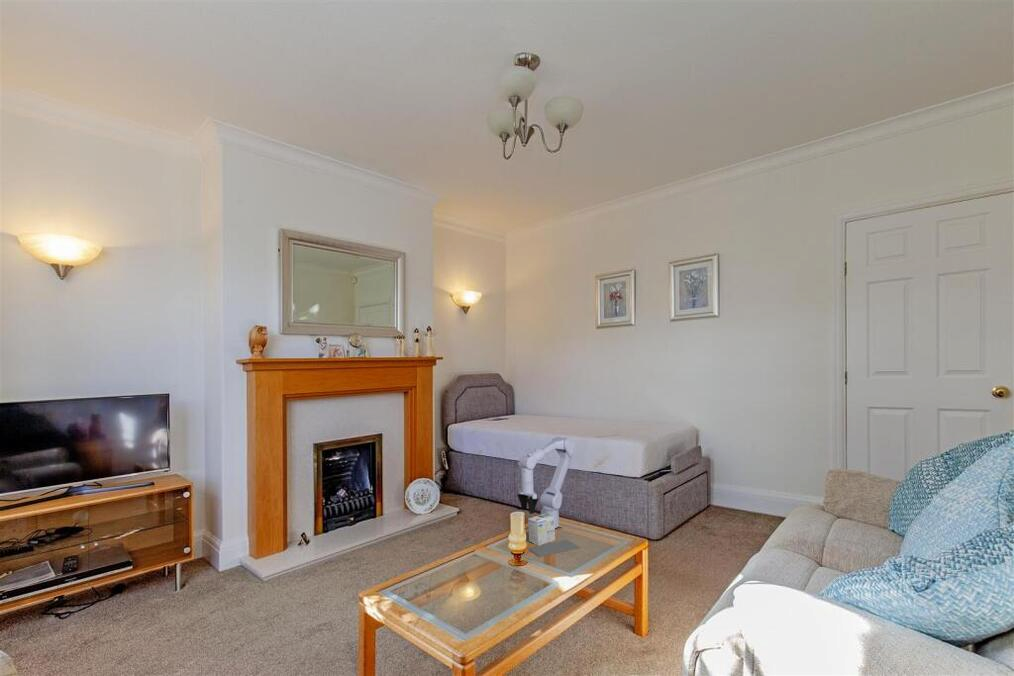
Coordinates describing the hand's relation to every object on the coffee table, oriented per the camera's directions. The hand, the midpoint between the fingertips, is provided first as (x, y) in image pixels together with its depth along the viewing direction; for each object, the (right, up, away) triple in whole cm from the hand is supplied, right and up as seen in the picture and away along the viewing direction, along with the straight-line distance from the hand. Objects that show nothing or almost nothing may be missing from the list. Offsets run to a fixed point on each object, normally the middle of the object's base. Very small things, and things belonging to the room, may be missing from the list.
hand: (527, 511), depth 226 cm
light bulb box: (+6, -10, -11) cm, 16 cm away
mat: (+10, -9, -20) cm, 24 cm away
